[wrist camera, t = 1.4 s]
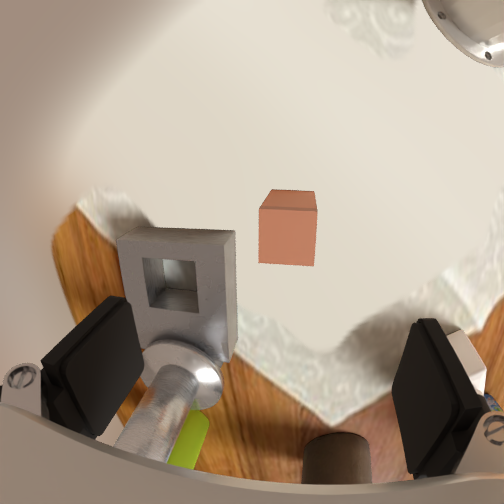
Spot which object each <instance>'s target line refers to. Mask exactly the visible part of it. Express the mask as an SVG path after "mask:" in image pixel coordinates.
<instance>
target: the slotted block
mask: <svg viewBox="0 0 504 504" xmlns="http://www.w3.org/2000/svg"><path fill="white" fill-rule="evenodd" d="M116 243H117V250H118V256H119V262H120V268H121V274H122V280H123V285H124V291H125V296H126V299H127V301H128V302H129V303H130V304H131V306H132V311H133V316H134V320H135V325H136V329H137V334H138V338H139V342H140V346H141V348H143V349H145V350H144V352H143V353H142V355H143V359H144V363H145V365H144V370H143V372H142V374H141V375H140V376H141V378H142V380H143V382H144V383H145V385H146V386H147V387H148V389H147V391H146V392H145V394H144V396H143V397H142V399H141V401H140V402H139V404H138V406H137V407H136V409H135V411H134V412H133V414H132V416H131V417H130V419H129V421H128V422H127V424H126V426H125V427H124V429H123V431H122V432H121V434H120V436H119V437H118V439H117V441H116V442H115V444H114V446H113V447H115V448H118V449H121V450H124V451H127V452H130V453H133V454H136V455H139V456H143V457H146V458H149V459H153V460H156V461H160V462H164V463H167V461H168V459H169V457H170V454H171V452H172V450H173V447H174V445H175V443H176V441H177V438H178V436H179V434H180V431H181V429H182V427H183V424H184V422H185V420H186V418H187V415H188V413H189V411H190V410H202V409H207V408H209V407H212V406H213V405H215V404H216V403H217V402H218V401H219V399H220V397H221V395H222V392H223V389H224V377H223V374H222V372H221V370H220V368H221V366H222V364H223V362H228V363H229V362H230V359H231V357H232V354H233V351H234V348H235V345H236V342H237V340H238V329H237V293H236V251H235V248H236V247H235V231H233V230H210V229H209V230H208V229H185V228H157V227H136V228H135V229H133V230H131V231H130V232H128V233H126V234H125V235H123V236H121V237H120V238H118V239H116ZM162 259H171V260H185V261H195V268H196V281H197V291H188V290H179V289H169V288H166V285H165V277H164V268H163V260H162Z"/></svg>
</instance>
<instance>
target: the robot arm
mask: <svg viewBox="0 0 504 504" xmlns="http://www.w3.org/2000/svg"><path fill="white" fill-rule="evenodd" d="M422 1H423V4H424V7H425V9H426V11H427V12H428V14H429V16H430V18H431V19H432V21H433V22H434V24H435V25H436V26H437V28H438V29H439V30H440V31H441V32H442V34H443V35H444V36H445V37H446V38H447V39H448V40H449V41H450V42H451V43H452V44H453V45H454V46H455V47H456V48H457V49H459V50H460V51H461V52H463V53H464V54H465V55H467V56H468V57H470V58H472V59H473V60H475V61H477V62H479V63H482V64H484V65H487V66H491V67H504V0H422ZM41 363H42V365H43V367H44V368H43V369H42V370H41V371H40V369H39V367H38V366H36V365H35V364H32V363H22V364H19V365H16V366H15V367H13V368H11V369H10V370H9V371H8V372H7V373H6V375H5V377H4V380H3V385H2V386H0V504H504V412H500V411H491V412H488V413H486V414H485V412H484V410H483V408H482V407H483V405H482V403H481V401H480V399H479V397H478V395H477V393H476V391H475V389H474V387H473V385H472V383H471V381H470V379H469V377H468V375H467V373H466V371H465V369H464V367H463V365H462V363H461V362H460V360H459V358H458V356H457V354H456V352H455V351H454V349H453V347H452V345H451V344H450V342H449V340H448V338H447V337H446V335H445V333H444V331H443V330H442V328H441V326H440V325H439V323H438V321H437V320H436V319H434V318H420V319H418V321H417V323H413V324H412V326H411V329H410V333H409V336H408V339H407V343H406V346H405V349H404V352H403V355H402V358H401V362H400V364H399V367H398V370H397V373H396V376H395V379H394V382H393V385H392V397H393V401H394V405H395V409H396V414H397V418H398V423H399V427H400V432H401V437H402V442H403V447H404V452H405V458H406V463H407V469H408V472H409V473H410V474H413V477H414V480H407V481H398V482H387V483H372V484H352V485H311V484H291V483H278V482H267V481H258V480H249V479H242V478H235V477H229V476H223V475H217V474H212V473H206V472H202V471H197V470H192V469H188V468H183V467H179V466H175V465H171V464H167V463H164V462H160V461H156V460H153V459H149V458H146V457H143V456H139V455H136V454H133V453H130V452H127V451H124V450H121V449H118V448H115V447H112V446H109V445H107V444H104V443H102V442H99V441H96V440H95V439H96V437H97V436H100V435H102V434H103V432H104V431H105V429H106V428H107V426H108V424H109V423H110V421H111V420H112V418H113V417H114V415H115V414H116V412H117V410H118V409H119V407H120V406H121V404H122V403H123V401H124V400H125V398H126V397H127V395H128V393H129V392H130V390H131V389H132V387H133V386H134V384H135V383H136V381H137V380H138V378H139V377H140V375H141V374H142V372H143V370H144V365H145V363H144V359H143V355H142V351H141V346H140V342H139V338H138V334H137V329H136V325H135V320H134V316H133V311H132V306H131V304H130V303H129V302H128V301H127V299H126V298H124V297H117V296H109V297H108V298H107V299H105V300H104V301H103V302H102V303H101V304H100V305H99V306H98V307H97V308H95V309H94V310H93V311H92V312H91V313H90V314H89V315H88V316H87V317H86V318H85V319H83V320H82V321H81V322H80V323H79V324H78V325H77V326H76V327H75V328H74V329H73V330H72V331H71V332H70V333H69V334H67V335H66V337H64V338H63V339H62V340H61V341H60V342H59V343H58V344H57V345H56V346H55V347H54V348H53V349H52V350H51V351H50V352H49V353H48V354H47V355H46V356H45V357H44V358H43V359H42V360H41Z"/></svg>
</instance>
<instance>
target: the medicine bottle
mask: <svg viewBox="0 0 504 504" xmlns="http://www.w3.org/2000/svg"><path fill="white" fill-rule="evenodd" d="M446 337H447V338H448V340H449V342H450V344H451V345H452V347H453V349H454V351H455V352H456V354H457V356H458V358H459V360H460V362H461V363H462V365H463V367H464V369H465V371H466V373H467V375H468V377H469V379H470V381H471V383H472V385H473V387H474V389H475V391H476V393H477V395H478V397H479V399H480V401H481V403H482V405H483V407H482V408H483V410H484V412H485V414H486V413H488V412H491V410H490V408H489V406H488V403H487V401H486V399H485V397H484V387H485V378H486V366H485V365H484V363H483V361H482V359H481V358H480V356H479V354H478V353H477V351H476V350H475V348H474V346H473V345H472V343H471V341H470V340H469V338H468V337H467V335H466V334H465V332H464V331H463V330H459V331H456V332H454V333H452V334H449V335H447V336H446Z"/></svg>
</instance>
